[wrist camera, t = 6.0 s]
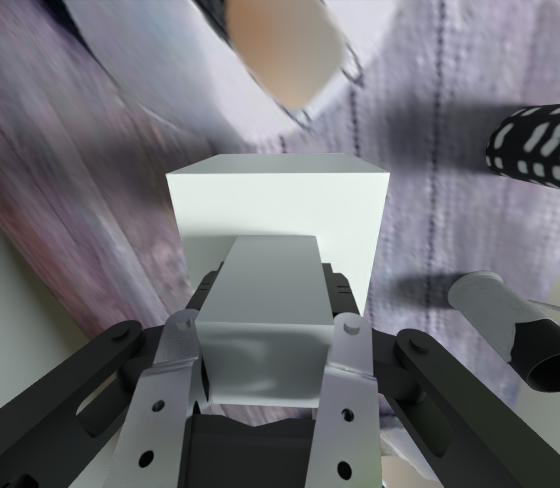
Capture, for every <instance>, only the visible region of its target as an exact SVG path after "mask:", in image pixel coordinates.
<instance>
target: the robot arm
mask: <svg viewBox="0 0 560 488" xmlns="http://www.w3.org/2000/svg"><path fill="white" fill-rule="evenodd" d="M224 262H225V261H222V262H221V264H220V266H219V268H218V270H217V271H211V272H209V273H208V274H207V275H205V276H204V278H203V279H202V281H201V283H200V285H199V286H198V288H197V290H196V291H195V293H194V294H193V296H192V298H191V299H190V301H189V303H188V305H187V306H186V308H185V309H184V310H180V311H178V312H176V313H174V314H173V315H171V316H170V317H169V318H168V319H167V321H166V322H165V325H161V326H157V327H152V328H147V329H143V328H142V325H141V323H140V322H138V321H135V320H128V321H123V322H120V323H117V324H115V325H113V326H111V327H110V328H108V329H107V330H105V331H104V332H103V333H101V334H100V335H99V336H97V337H96V338H95V339H93V340H92V341H91V342H89V343H88V344H87V345H85V346H84V347H83V348H81V349H80V350H79V351H77V352H76V353H74V354H73V355H72V356H70V357H69V358H68V359H66V360H65V361H64V362H62V363H61V364H60V365H58V366H57V367H56V368H54V369H53V370H52V371H50V372H49V373H47V374H46V375H45V376H43V377H42V378H41V379H39V380H38V381H37V382H35V383H34V384H33V385H31V386H30V387H29V388H27V389H26V390H24V391H23V392H22V393H21V394H19V395H18V396H16V397H15V398H14V399H12V400H11V401H10V402H8V403H7V404H6V405H4V406H3V407H2V408H0V488H68V487H69V486H70V485H71V483H72V482H73V481H74V480H75V479H76V478H77V477H78V475H79V474H80V473H81V472H82V471H83V470H84V469H85V467H86V466H87V465H88V464H89V463H90V461H92V459H93V458H94V457H95V456H96V455H97V454H98V452H99V451H100V450H101V449H102V448H103V447H104V446H105V444H106V443H107V442H108V441H109V440H110V439H111V437H112V436H113V435H114V434H115V433H116V432H117V431H118V429H119V428H120V427H121V426H122V425H123V424H124V425H123V428H122V431H121V434H120V437H119V440H118V443H117V446H116V450H115V452H114V455H113V458H112V461H111V464H110V467H109V470H108V473H107V476H106V479H105V482H104V485H103V488H385V487H384V486H383V485H382V468H381V447H380V426H379V405H378V393H381V394H383V395H384V397H385V398H386V400H387V401H388V403H389V405H390V406H391V408H392V409H393V411H394V412H395V414H396V415H397V417H398V418H399V420H400V421H401V423H402V424H403V426H404V427H405V429H406V430H407V432H408V433H409V435H410V436H411V438H412V439H413V441H414V442H415V444H416V445H417V447H418V448H419V450H420V451H421V453H422V454H423V456H424V457H425V459H426V461H427V462H428V464H429V465H430V467H431V468H432V470H433V471H434V473H435V474H436V476H437V477H438V479H439V480H440V482H441V483H442V485H443V486H444V488H560V455H559V454H558V453H557V452H556V451H555V450H554V449H553V448H552V447H551V446H549V444H547V443H546V442H545V441H544V440H543V439H542V438H541V437H540V436H539V435H538V434H537V433H536V432H534V431H533V430H532V429H531V428H530V427H529V426H528V425H527V424H526V423H525V422H524V421H523V420H522V419H521V418H519V417H518V416H517V415H516V414H515V413H514V412H513V411H512V410H511V409H510V408H509V407H508V406H506V405H505V404H504V403H503V402H502V401H501V400H500V399H499V398H498V397H497V396H496V395H495V394H494V393H492V392H491V391H490V390H489V389H488V388H487V387H486V386H485V385H484V384H483V383H482V382H481V381H479V380H478V379H477V378H476V377H475V376H474V375H473V374H472V373H471V372H470V371H469V370H468V369H467V368H465V367H464V366H463V365H462V364H461V363H460V362H459V361H458V360H457V359H456V358H455V357H454V356H452V355H451V354H450V353H449V352H448V351H447V350H446V349H445V348H444V347H443V346H442V345H441V344H440V343H438V342H437V341H436V340H435V339H434V338H433V337H431V336H430V335H428V334H427V333H425V332H422V331H420V330H416V329H403V330H401V331H399V332H398V334H397V336H394V335H390V334H386V333H383V332H380V331H377V330H375V329H373V328H371V325H370V324H369V322H368V321H367V320H366V319H365V318H363V317H362V316H361V315H360V312H359V309H358V307H357V304H356V301H355V298H354V295H353V294H352V290H351V288H350V284H349V281H348V279H347V278H346V277H345V276H344V275H343V274H342V273H333V270H332V266H331V263H322V267H323V272H324V277H325V282H326V286H327V291H328V296H329V301H330V305H331V310H332V315H333V320H334V324H335V327H334V335H333V343H332V345H329V349H328V355H327V362H326V364H325V370H324V375H323V381H322V387H321V393H320V399H319V405H318V408H312V415H313V419H293V418H289V419H285V420H281V421H277V422H273V423H269V424H265V425H261V426H256V427H252V426H249V425H246V424H244V423H241V422H238V421H236V420H233V419H230V418H228V417H225V416H222V415H211V394H212V388H211V384H210V381H209V380H208V376H207V372H206V368H205V363H204V359H203V355H202V352H203V350H202V346H201V342H200V341H199V338H198V334H197V330H196V326H195V322H194V321H195V320H196V318H197V316H198V314H199V312H200V310H201V308H202V306H203V304H204V302H205V300H206V298H207V296H208V294H209V292H210V290H211V288H212V286H213V284H214V282H215V280H216V278H217V276H218V274H219V272H220V270H221V268H222V266H223V264H224ZM112 374H113V375H114V377H115V380H114V381H113V382H111V383H110V384H109V385H108V386H107V387H106V388H105V389H104V390H103V391H102V392H101V393H100V394H99V395H98V396H97V397H96V398H95V399H94V400H92V401H91V402H90V404H88V405H87V406H86V407H85V408H84V409H83V410H82V411H81V412H80V413H79V414H78V415H76V412H77V409H78V407H79V406H80V404H81V403H82V402H83V400H85V399H86V398H87V397H88V396H89V395H90V394H91V393H92V392H93V391H94V390H95V389H96V388H98V387H99V386H100V384H102V383H103V382H104V381H105V380H106V379H107V378H109V376H111V375H112Z"/></svg>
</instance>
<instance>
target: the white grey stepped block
mask: <svg viewBox="0 0 560 488" xmlns="http://www.w3.org/2000/svg"><path fill="white" fill-rule="evenodd" d="M166 177H167V181H168V185H169V190H170V194H171V199H172V203H173V207H174V212H175V216H176V221H177V225H178V230H179V234H180V238H181V243H182V247H183V252H184V256H185V260H186V265H187V269H188V274H189V278H190V282H191V287H192V291H193V294H194V293H195V291H196V290H197V288H198V286H199V285H200V283H201V281H202V279H203V278H204V276H205V275H207V274H208V273H209V272H211V271H217V270H218V268H219V266H220V264H221V262H222V261H225V262H224V264H223V266H222V268H221V270H220V272H219V274H218V276H217V278H216V280H215V282H214V284H213V286H212V288H211V290H210V292H209V294H208V296H207V298H206V300H205V302H204V304H203V306H202V308H201V310H200V312H199V314H198V316H197V318H196V320H195V321H194V322H195V326H196V330H197V334H198V338H199V341H200V342H201V346H202V350H203V352H202V355H203V359H204V363H205V368H206V372H207V376H208V380H209V381H210V384H211V388H212V397H213V401H214V403H221V404H243V405H266V406H288V407H310V408H318V405H319V399H320V393H321V387H322V381H323V375H324V370H325V364H326V362H327V355H328V349H329V345H332V343H333V335H334V327H335V324H334V320H333V315H332V310H331V305H330V301H329V296H328V291H327V286H326V282H325V277H324V272H323V267H322V263H331V266H332V270H333V273H342V274H343V275H344V276H345V277H346V278H347V279H348V281H349V284H350V288H351V290H352V294H353V295H354V298H355V301H356V304H357V307H358V309H359V312H360V315H361V316H362V317H363V312H364V307H365V302H366V297H367V291H368V286H369V281H370V276H371V271H372V265H373V260H374V255H375V250H376V244H377V239H378V234H379V229H380V224H381V218H382V213H383V208H384V203H385V198H386V192H387V187H388V182H389V177H390V172H388V171H386V170H383V169H381V168H379V167H377V166H375V165H373V164H371V163H369V162H367V161H364V160H362V159H360V158H358V157H356V156H354V155H352V154H350V153H287V154H218V155H216V156H213V157H210V158H208V159H205V160H202V161H200V162H197V163H194V164H191V165H189V166H186V167H183V168H181V169H178V170H175V171H173V172H170V173H167V174H166Z"/></svg>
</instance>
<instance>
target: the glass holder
mask: <svg viewBox="0 0 560 488" xmlns="http://www.w3.org/2000/svg"><path fill="white" fill-rule="evenodd" d="M448 302H449V304H450V305H451V306H452V307H453V308H455V309H456V310H459V311H460V312H461V313H462V314H463V316H464V317H465V318H466V319H467V320H468V321H469V322H470V323H471V324H472V326H473V327H474V328H475V329H476V330H477V331H478V332H479V333H480V334H481V336H482V337H483V338H484V339H485V340H486V341H487V342H488V343H489V344H490V346H491V347H492V348H493V349H494V350H495V351H496V352H497V353H498V354H499V356H500V357H501V358H502V359H503V360H504V361H505V362H506V363H507V364H508V363H509V365H510V366H511V367H512V368H513V369H514V370H515V371H516V372H517V373H518V374H519V376H520V377H521V378H522V379H523V380H524V381H525V382H526V383H527V384H528V385H529V386H530V387H531V388H532V389H534V390H537V391H540V392H548V393H551V392H560V326H558V324H557V323H556V322H555V321H554V320H553V319H551V318H550V317H549V316H548V315H546V314H545V313H544V312H542V311H541V310H539V309H538V308H537V307H535V306H538V307H543V308H547V309H552V310H556V311H560V307H559V306H554V305H550V304H546V303H541V302H536V301H531V300H527V299H525V298H523V297H522V296H521V295H519V294H518V293H517V292H515V291H514V290H513V289H511V288H510V287H508V286H507V285H506V284H504V283H503V281H502V279H501V277H500V276H499V275H497V274H496V273H493V272H490V271H476V272H472V273H469V274H467V275H465V276H463V277H461V278H460V279H458V280H457V281H456V282H455V283H454V284H453V285H452V286H451V288H450V289H449V292H448Z"/></svg>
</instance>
